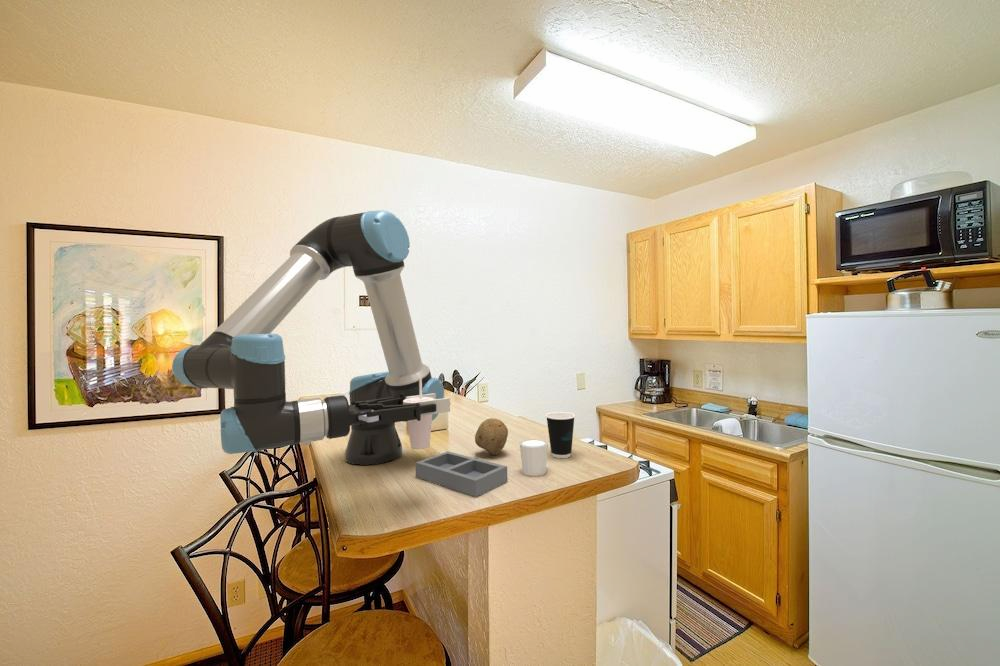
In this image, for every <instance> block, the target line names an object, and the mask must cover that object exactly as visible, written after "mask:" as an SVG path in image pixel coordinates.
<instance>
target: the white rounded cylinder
mask: <svg viewBox="0 0 1000 666" xmlns="http://www.w3.org/2000/svg"><path fill="white" fill-rule="evenodd" d="M548 447H549V443H548V442H547V441H546V440H542V439H524V440H522V441H520V442H519V449H520V450H519V451H520V460H521V466H522V473H523V474H524V475H525V476H528V477H529V476H530V477H539V476H543V475H545V474H546V473H547V464H548V450H549V448H548Z"/></svg>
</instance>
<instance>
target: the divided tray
mask: <svg viewBox="0 0 1000 666" xmlns="http://www.w3.org/2000/svg"><path fill="white" fill-rule="evenodd" d="M414 464H415V477H416V478H417V477H418V479H420V478H421V479H420V480H423V479H425V480H424V481H426V480H428V481H427V482H429V481H431V482H430V483H432V482H434V483H433V484H435V483H437V484H436V485H438V484H440V485H439V486H441V485H443V486H442V487H444V486H446V487H445V488H447V487H448V489H450V488H451V489H450V490H453V489H454V491H456V490H457V491H456V492H459V491H460V492H459V493H462V492H463V493H462V494H464V493H465V494H464V495H467V494H468V495H467V496H470V495H471V497H473V496H475V497H474V498H478V497H480V496H481V495H484V494H486V493H488V492H490V491H492V490H494V489H496V488H497V487H498V488H499V487H500V486H502V485H505V484H506V483H507V482H508V466H507V465H503V464H500V463H499V464H498V463H495V462H492V461H487V460H483V459H479V458H476V457H472V456H467V455H465V454H460V453H456V452H453V451H445V452H442V453H439V454H435V455H433V456H430V457H427V458H424V459H421V460H419V461H418V460H417V461H416V462H415V463H414ZM479 495H480V496H479Z"/></svg>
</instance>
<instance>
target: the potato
mask: <svg viewBox="0 0 1000 666" xmlns="http://www.w3.org/2000/svg"><path fill="white" fill-rule="evenodd" d="M508 434H509V430H508V427H507V425H506V424H505V423H504V421H502V420H501V419H498V418H492V417H491V418H487V419H485V420H484V421H482V422H481V423H480V424H479V426H478V428H477V431H476V433H475V435H474V442H475V445H477V446H478V447H479V448H481V449H483V450H484V451H486V452H487V453H488V454H490V455H492V456H496V455H498V454H500V453H501V452H502V450H503V449H504V448H505V446H506V443H507V440H508V436H509V435H508Z"/></svg>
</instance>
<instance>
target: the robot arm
mask: <svg viewBox="0 0 1000 666" xmlns="http://www.w3.org/2000/svg"><path fill="white" fill-rule="evenodd" d="M407 231H408V230H407V228H406V226H405V225H404V223H403V222H402V221H401V220H400V218H398V217H397V216H396V215H395V214H394V213H393V212H390V211H388V210H383V209H382V210H368V211H365V212H359V213H353V214H348V215H342V216H336V217H331V218H329V219H326V220H324V221H322V222H321V223H319V224H318V225H317V226H315V227H314V228H313V229H311V230H310V231H309V232H307V234H305V236H303V237H302V238H301V239H300V240H299V241H297V243H296V244H295V245H293V247H291V249H290V251H289V257H288V258H287V260H285V261H284V263H282V264H281V265H280V266H279V267H278V268H277V269H276V270H275V271H274V272H273V273H272V274H271V275H270V276H269V277H268V278H267V279H265V281H264V282H263V283H262V284H261V285H260V286H259V287H258V288H257V289H256V290H255V291H254V292H253V293H252V294H251V295H250V296H248V298H247V299H245V300H244V301H243V302H242V304H241V305H239V307H238V308H237V309H235V310H234V311H233V313H231V314H230V315H229V316H228V317H227V318H226V319H225V320H224V321H223V322H222V323H220V325H219V326H218V327H217V328H216V329H215V330H214V331H212V333H211V334H209V336H208V337H206V338H205V340H204V341H202V342H201V343H200V344H195V345H191V346H188V347H186V348H183V349H181V350H180V351H179V352H177V354H176V355H175V356H174V358H173V360H172V366H171V368H172V369H171V370H172V373H173V376H174V378H175V379H176V380H177V381H178V382H179V383H180V384H182V385H185V386H189V387H193V388H198V389H225V390H226V389H227V390H233V398H234V399H233V400H234V401H233V406H231V407H228V408H224V409H222V410H221V412H220V420H219V421H220V441H221V442H220V445H221V449H222V451H223V452H224V453H226V454H228V455H235V454H242V453H251V452H253V453H257V452H259V451H265V450H266V451H267V450H271V449H277V448H282V447H287V446H291V445H300V444H304V445H305V446H310V445H311V443H312V442H317V441H323V440H324V438H325V437H326V438H327V439H328V440H331V439H337V438H338V439H339V438H343V437H344V438H345V437H348V435H349V437H348V441H347V444H346V449H345V453H344V455H345V456H344V457H345V458H344V459H346V460H347V461H348V462H350V463H353V464H352V465H355V464H360V465H359V466H368V465H367V464H372V465H379V463H380V464H383V462H385V463H387V462H390V461H391V460H392V461H394V460H396V459H399V458H400V457H401V456H402V455H403V445H402V442H401V439H400V437H399V433H398V431H397V428H396V423H399V422H406V423H407V421H409V420H418V421H420V420H421V416H424V415H431V414H432V422H433V421H435V419H437V417H438V415H439V414H441V413H442V414H443V413H449V412H451V398H450V397H445V388H444V385H443V382H442V381H441V380H440V379H439V378H437V377H433V376H432V374H431V370H430V367H429V366H428V365H427V364H424V363H423V361H422V358H421V353H420V349H419V345H418V342H417V337H416V334H415V328H414V325H413V320H412V317H411V314H410V309H409V304H408V301H407V297H406V293H405V290H404V286H403V285H404V284H403V281H402V277H401V273H402V271H403V270H404V268H405V262H404V260H406V259H407V257H408V255H409V253H410V249H409V248H410V245H411V243H410V238H409V234H408V232H407ZM347 267H352V271H353V274H354V277H356V279H359V280H360V281H362V282H363V284H364V288H365V290H366V294H367V298H368V301H369V305H370V309H371V312H372V316H373V320H374V324H375V327H376V330H377V335H378V338H379V341H380V345H381V348H382V351H383V356H384V358H385V363H386V366H387V370H388V371H383V372H377V373H376V372H375V373H370V374H364V375H363V374H362V375H359V376H358V375H357V376H354V377H352V378H351V380H350V382H349V391H348V394H349V400H348V398H347V396H345V395H344V394H343V395H334V396H326V397H325V398H323V400H322V398H321V397H314V398H313V397H312V398H306V399H297V400H292V401H287V398H286V396H287V395H286V365H285V364H286V363H285V360H286V355H285V351H284V350H285V349H284V342H283V341H284V340H283V337H282V336H281V335H279V334H278V333H272V332H274V330H275V329H276V328H277V327H278V326H279V325H280V324H281V323H282V321H283V320H285V318H286V317H287V316H288V315H289V314H290V312H291V311H292V310H293V309H294V308H295V307H296V306H297V304H298V303H299V302H300V301H301V300H303V298H304V297H305V296H306V295H307V294H308V292H309V291H310V290H311V289H312V288H313V287H314V286H315V285H316V284H317V282H319V281H324V280H325V279H328V277H329V276H330V275H331V274H332V273H334V272H335V271H337V270H339V269H342V268H347ZM419 378H422V397H431V398H434V400H427V401H420V402H418V403H416V404H403V400H405V399H408V398H414V397H420V395H419ZM346 460H345V461H346ZM348 462H347V463H348ZM350 463H349V464H350Z"/></svg>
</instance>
